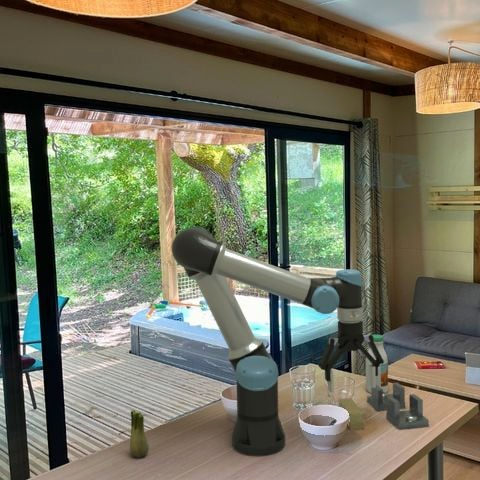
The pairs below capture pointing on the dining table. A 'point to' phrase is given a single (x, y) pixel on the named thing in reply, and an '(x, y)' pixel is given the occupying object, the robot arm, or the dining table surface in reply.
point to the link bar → (353, 414)
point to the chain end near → (406, 413)
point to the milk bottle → (382, 369)
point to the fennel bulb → (138, 435)
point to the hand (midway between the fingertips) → (352, 388)
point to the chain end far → (380, 397)
